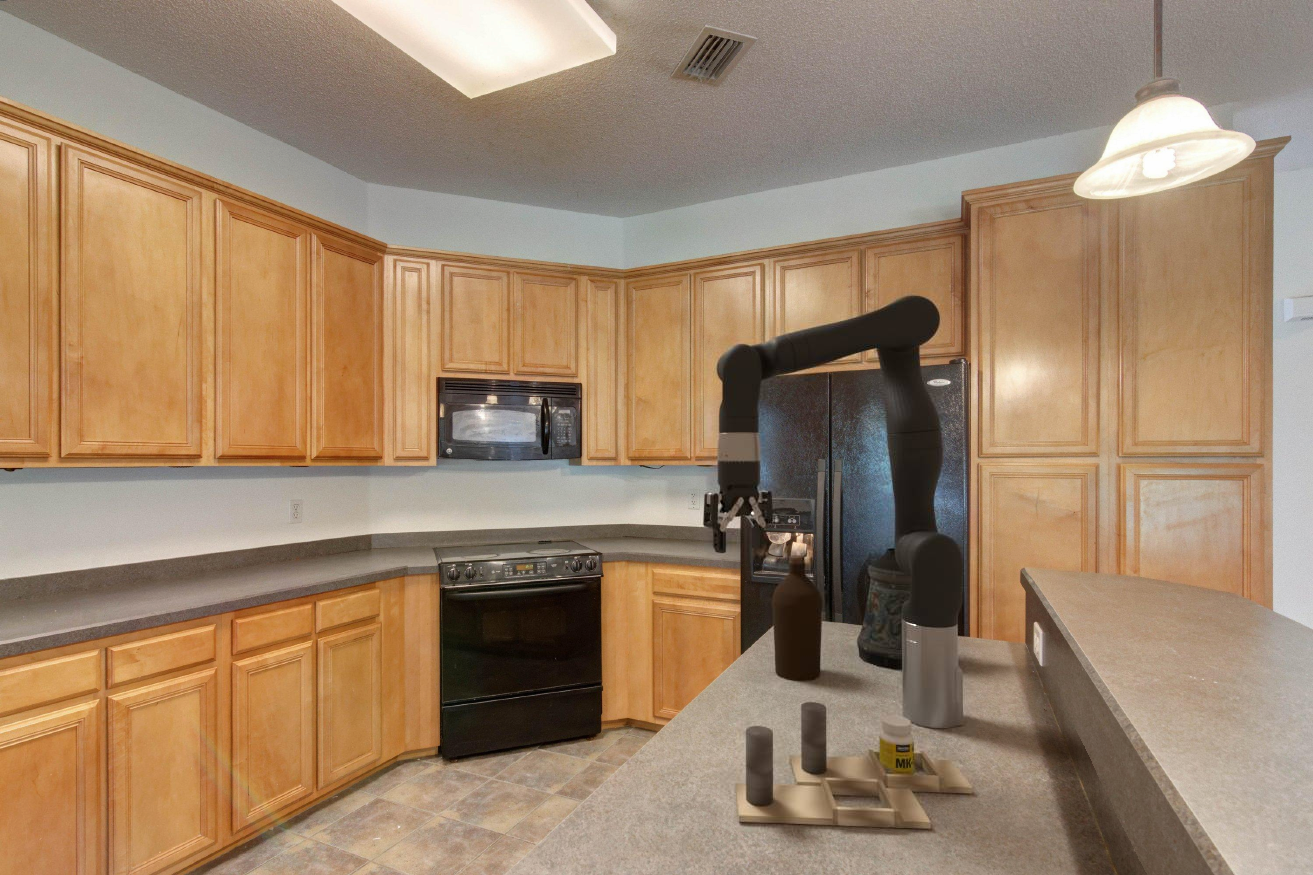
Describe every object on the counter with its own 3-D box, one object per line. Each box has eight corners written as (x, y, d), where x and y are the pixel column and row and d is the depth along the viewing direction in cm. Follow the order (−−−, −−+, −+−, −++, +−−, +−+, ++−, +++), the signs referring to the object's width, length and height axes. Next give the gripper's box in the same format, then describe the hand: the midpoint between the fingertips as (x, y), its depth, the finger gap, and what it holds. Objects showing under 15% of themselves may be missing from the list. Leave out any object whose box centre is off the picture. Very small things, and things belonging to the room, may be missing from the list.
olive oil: (784, 684, 133) (784, 561, 133) (764, 667, 143) (764, 553, 144) (832, 680, 135) (831, 559, 136) (809, 663, 145) (808, 551, 146)
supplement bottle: (897, 789, 91) (896, 729, 92) (872, 774, 96) (872, 717, 96) (921, 781, 93) (921, 723, 94) (896, 767, 98) (895, 711, 98)
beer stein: (842, 651, 154) (842, 546, 155) (911, 644, 160) (910, 542, 161) (887, 674, 138) (886, 556, 139) (961, 665, 144) (960, 552, 145)
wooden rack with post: (950, 765, 98) (949, 699, 98) (972, 793, 90) (971, 721, 90) (789, 760, 100) (789, 695, 100) (797, 787, 92) (797, 717, 92)
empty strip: (910, 794, 90) (909, 723, 90) (930, 828, 82) (930, 749, 82) (735, 788, 91) (735, 718, 91) (738, 821, 83) (738, 744, 83)
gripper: (721, 459, 108) (721, 557, 107) (783, 458, 116) (783, 549, 115) (693, 458, 114) (694, 551, 114) (754, 458, 122) (754, 544, 122)
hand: (739, 550), depth 115 cm, fingers open, 8 cm apart
